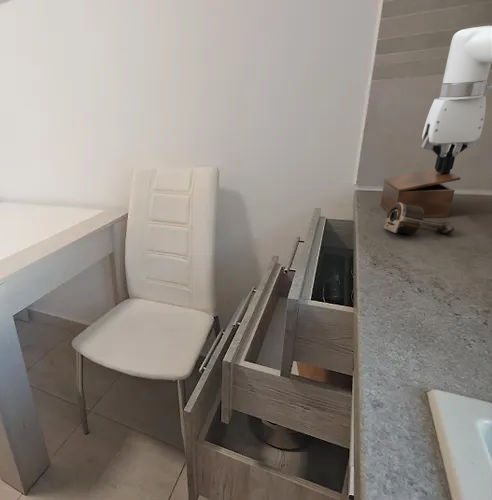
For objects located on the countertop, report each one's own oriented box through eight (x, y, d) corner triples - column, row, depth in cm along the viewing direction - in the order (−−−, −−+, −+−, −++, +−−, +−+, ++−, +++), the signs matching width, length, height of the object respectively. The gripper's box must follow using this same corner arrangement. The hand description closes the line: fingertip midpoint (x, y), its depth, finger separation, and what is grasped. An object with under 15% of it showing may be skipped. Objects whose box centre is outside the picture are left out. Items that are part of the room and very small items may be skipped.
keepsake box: (428, 203, 98) (434, 179, 95) (448, 217, 88) (454, 190, 86) (380, 205, 101) (384, 181, 98) (394, 218, 91) (398, 192, 89)
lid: (439, 169, 94) (439, 167, 93) (460, 179, 85) (460, 177, 84) (384, 180, 98) (384, 178, 98) (399, 191, 89) (398, 189, 88)
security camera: (386, 200, 88) (383, 203, 80) (456, 199, 80) (460, 203, 73) (384, 230, 89) (381, 236, 81) (453, 232, 82) (456, 239, 74)
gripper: (492, 86, 83) (470, 167, 91) (415, 93, 87) (401, 170, 95) (513, 88, 77) (488, 175, 84) (430, 95, 80) (413, 177, 88)
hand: (442, 172), depth 89 cm, fingers closed
